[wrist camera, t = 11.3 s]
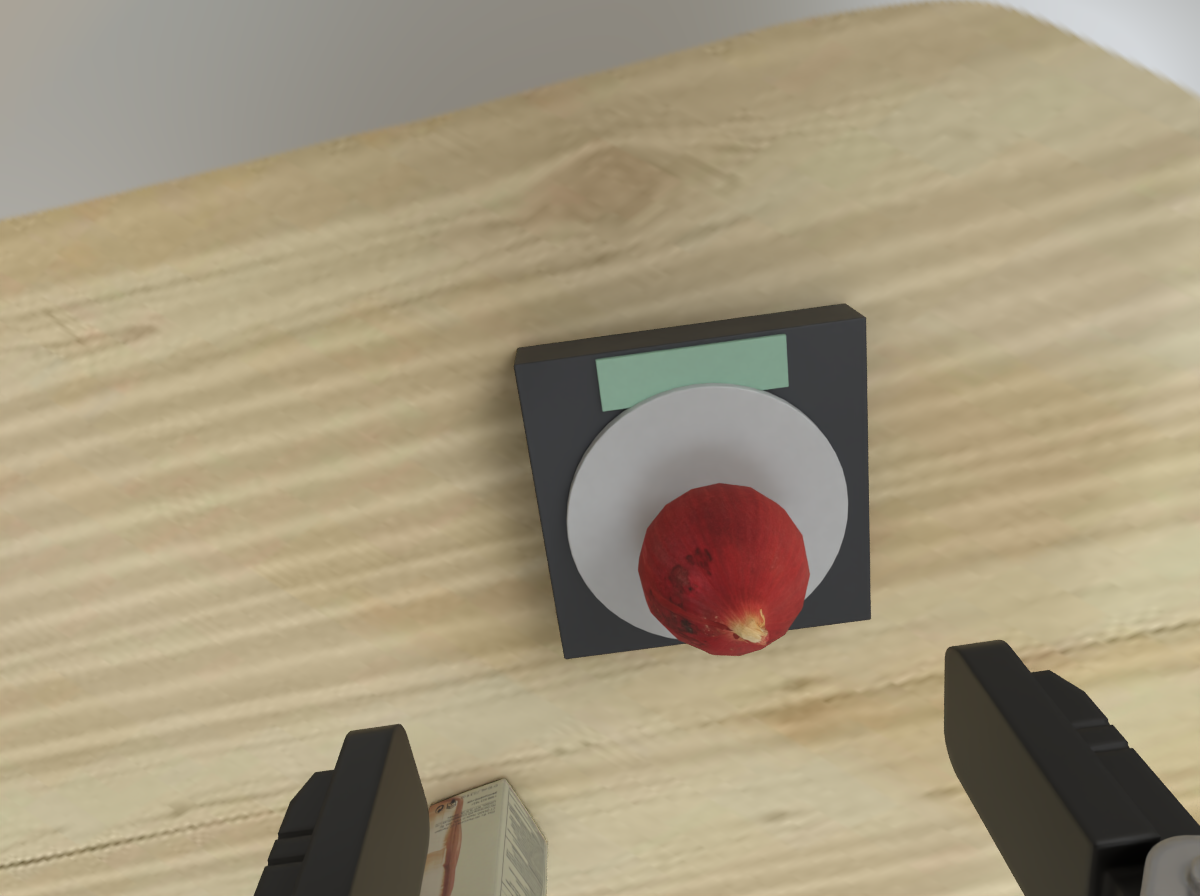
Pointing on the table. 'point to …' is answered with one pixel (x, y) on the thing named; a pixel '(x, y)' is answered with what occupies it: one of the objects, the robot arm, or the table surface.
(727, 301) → the table surface
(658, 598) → the onion
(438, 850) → the cream carton
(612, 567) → the scale
